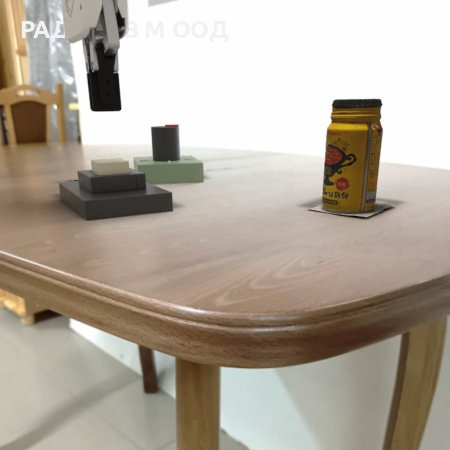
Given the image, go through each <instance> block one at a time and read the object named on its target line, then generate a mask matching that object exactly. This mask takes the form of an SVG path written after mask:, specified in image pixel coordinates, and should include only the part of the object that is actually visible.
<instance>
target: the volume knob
mask: <svg viewBox="0 0 450 450" xmlns="http://www.w3.org/2000/svg"><path fill="white" fill-rule="evenodd" d="M150 134H151V135H150V136H151V150H152V151H151V152H152V153H151V154H152V157H153V160H155V161H175V160H180V156H181V147H180V145H181V144H180V143H181V141H180V125H179V124H178V123H177V124H175V123H173V124H164V125H155V126H150Z"/></svg>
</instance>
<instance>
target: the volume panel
mask: <svg viewBox="0 0 450 450" xmlns="http://www.w3.org/2000/svg"><path fill="white" fill-rule="evenodd" d="M132 158H133V169H134V170H137V171H140V172H142V173H145V176H146V182H147V183H150V184H152V185H172V184H196V183H198V184H199V183H204V182H205V179H204V176H205V175H204V162H203V161H201V160H199V159H198V158H196V157H195V156H193V155H192V154H191V155H180V160H175V161H155V160H153V156H133V157H132Z"/></svg>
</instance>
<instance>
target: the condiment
mask: <svg viewBox="0 0 450 450" xmlns="http://www.w3.org/2000/svg"><path fill="white" fill-rule="evenodd" d="M383 105H384V104H383V101H382V99H381V98H341V99H340V98H337V99H334V100H332V104H331V107H332V108H331V113H330V120H331V122H330V123H329V125H328V126H327V128H326V133H325V135H326V136H325V148H324V149H325V150H324V151H325V152H324V163H323V181H322V197H321V203H322V204H319V205H317V206H315V207H311V208H309V210H311V211H317V212H322V213H328V214H333V215H334V214H335V215H342V216H357V217H364V218H368V217H371V216H374V215H376V214H378V213H381V212H382V211H384V210H385V209H388V208H390V207H392V206H393V205H395V203H390V202H389V203H385V202H383V203H382V202H376V201H377V200H376V199H377V194H378V193H377V192H378V182H379V181H378V179H379V172H380V171H379V170H380V161H381V152H382V144H383V134H384V128H383V126H382V122H381V119H382V106H383Z"/></svg>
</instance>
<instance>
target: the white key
mask: <svg viewBox="0 0 450 450" xmlns="http://www.w3.org/2000/svg"><path fill="white" fill-rule="evenodd" d="M90 165H91V170H92V173H94V174H96V175H98V176H99V175H110V174H124V173H130V171H129V168H130V161H129V160H127V159H124V158H120V157H119V158H118V157H117V158H101V159H100V158H99V159H98V158H97V159H91V160H90Z"/></svg>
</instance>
